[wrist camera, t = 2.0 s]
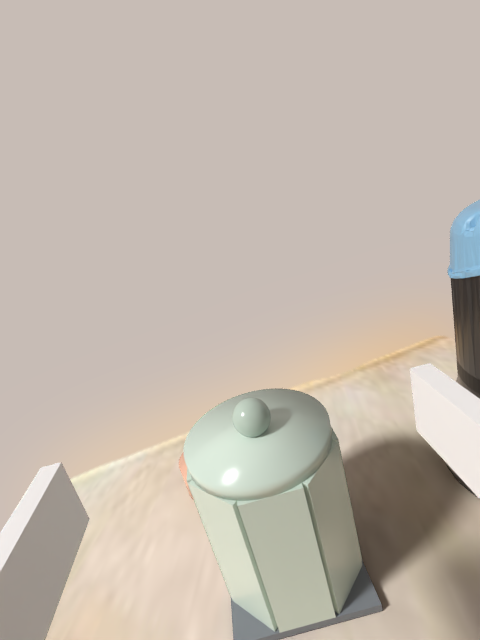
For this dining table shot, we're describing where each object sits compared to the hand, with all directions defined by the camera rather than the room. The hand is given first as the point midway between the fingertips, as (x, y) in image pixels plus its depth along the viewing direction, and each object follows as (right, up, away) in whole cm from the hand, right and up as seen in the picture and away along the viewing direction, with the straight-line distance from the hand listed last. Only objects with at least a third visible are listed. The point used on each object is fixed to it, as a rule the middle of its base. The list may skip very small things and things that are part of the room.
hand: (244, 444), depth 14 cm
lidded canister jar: (+4, -14, +15) cm, 21 cm away
